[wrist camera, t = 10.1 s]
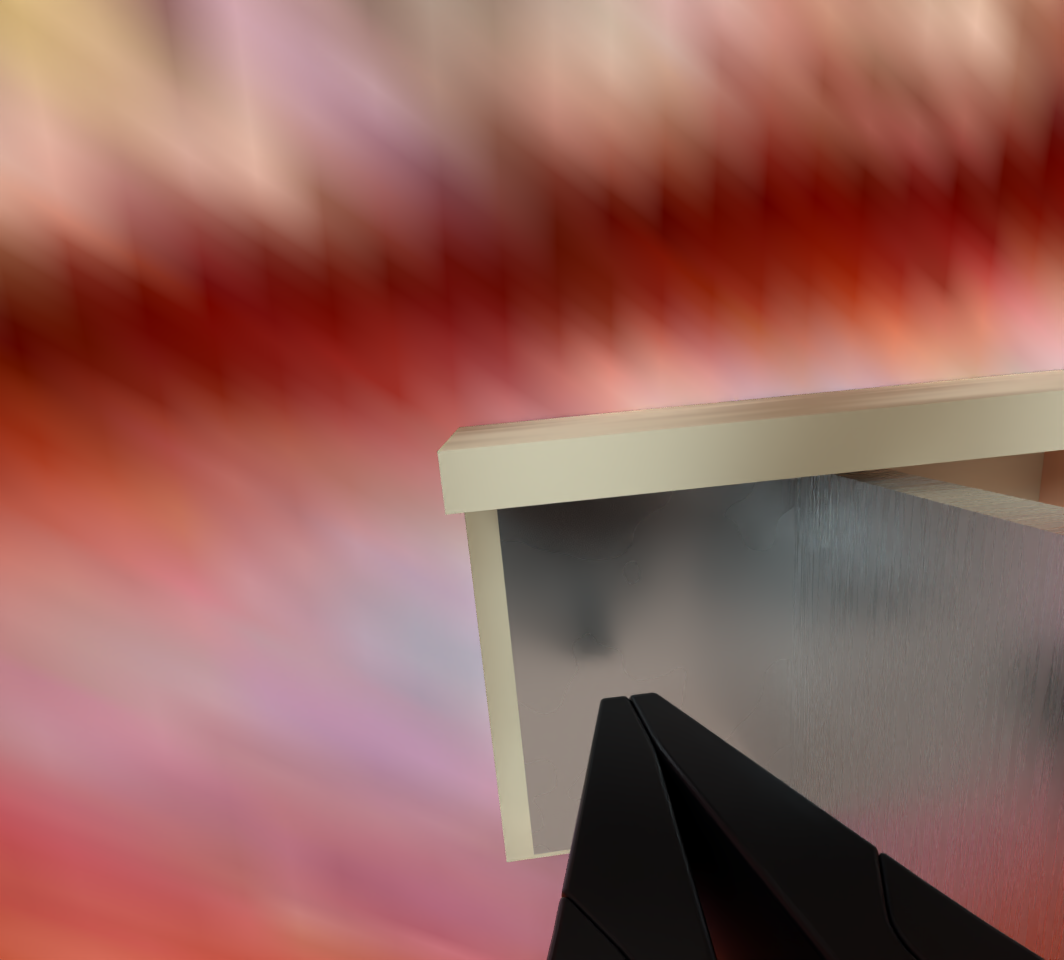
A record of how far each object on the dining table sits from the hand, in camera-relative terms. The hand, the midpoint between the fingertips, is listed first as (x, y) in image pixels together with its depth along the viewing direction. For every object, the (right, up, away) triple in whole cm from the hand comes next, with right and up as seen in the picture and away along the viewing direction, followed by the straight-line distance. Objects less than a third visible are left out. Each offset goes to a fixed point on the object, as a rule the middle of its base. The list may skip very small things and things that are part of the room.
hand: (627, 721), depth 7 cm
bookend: (+1, 0, +2) cm, 2 cm away
